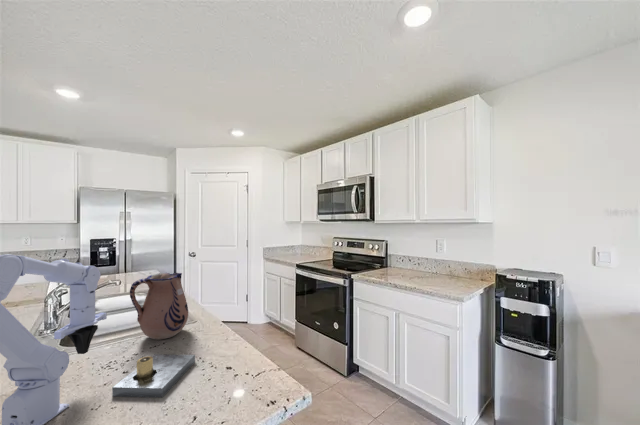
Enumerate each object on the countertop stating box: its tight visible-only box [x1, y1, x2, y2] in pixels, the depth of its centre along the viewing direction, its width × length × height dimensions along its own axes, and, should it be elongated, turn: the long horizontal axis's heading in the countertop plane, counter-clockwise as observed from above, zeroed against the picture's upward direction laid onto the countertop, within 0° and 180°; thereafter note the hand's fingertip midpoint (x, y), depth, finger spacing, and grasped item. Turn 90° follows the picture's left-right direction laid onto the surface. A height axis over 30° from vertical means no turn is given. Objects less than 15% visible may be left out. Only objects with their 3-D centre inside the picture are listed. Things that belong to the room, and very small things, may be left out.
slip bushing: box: [136, 355, 153, 381], centre depth 81 cm, size 4×4×7 cm
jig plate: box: [111, 353, 196, 398], centre depth 84 cm, size 18×14×2 cm
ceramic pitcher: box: [129, 272, 189, 341], centre depth 113 cm, size 18×21×25 cm
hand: (82, 352), depth 80 cm, fingers closed
